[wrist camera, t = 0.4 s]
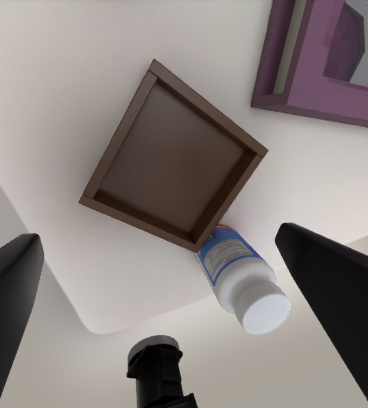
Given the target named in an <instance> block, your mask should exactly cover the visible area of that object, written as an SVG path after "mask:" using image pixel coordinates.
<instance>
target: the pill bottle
mask: <svg viewBox="0 0 368 408" xmlns="http://www.w3.org/2000/svg"><path fill="white" fill-rule="evenodd" d="M195 254H196V258H197V260H198V262H199V264H200V266H201V268H202V270H203V272H204V274H205V276H206V278H207V280H208V281H209V283H210V285H211V287H212V289H213V291H214V293H215V295H216V297H217V299H218V301H219V303H220V305H221V306H222V307H223V308H224V309H225V310H226V311H228V312H230V313H232V314H235V315H236V317H237V319H238V320H239V322H240V324H241V325H242V327H243V329H244V330H245V331H246V332H247V333H249V334H251V335H262V334H266V333H269V332H271V331H273V330H274V329H276V328H277V327H278V326H280V325H281V324H282V323H283V322H284V321H285V319H286V318H287V316H288V314H289V312H290V308H291V305H290V301H289V299H288V297H287V296H286V295H285V294H284V293H283V292H282V290H281V289H280V288H279V287H278V286H277V285H276V276H275V273H274V271H273V269H272V268H271V267H270V266H269V265H268V264H267V263H266V261H265V260H264V259H263V258H262V257H261V256H260V255H259V254H258V253H257V252H256V251H255V250H254V249H253V248H252V247H251V246H250V245H249V244H248V243H247V242H246V241H245V240H244V239H243V238H242V237H241V236H240V235H239V234H238V233H237V232H236V231H235V230H234V229H232V228H230V227H227V226H216V227H215V228H214V230H213V231H212V232H211V234H210V235H209V237H208V238H207V240H206V241H205V243H204V244H203V245H202V247H201V248H200V250H199V251H198V253H195Z"/></svg>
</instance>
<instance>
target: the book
mask: <svg viewBox="0 0 368 408" xmlns="http://www.w3.org/2000/svg"><path fill="white" fill-rule="evenodd" d="M251 107H253V108H259V109H265V110H271V111H277V112H282V113H288V114H294V115H300V116H305V117H311V118H317V119H323V120H329V121H334V122H340V123H346V124H352V125H357V126H363V127H368V0H274V2H273V7H272V11H271V16H270V20H269V25H268V30H267V34H266V39H265V43H264V48H263V53H262V57H261V62H260V66H259V71H258V75H257V80H256V85H255V89H254V94H253V98H252V103H251Z"/></svg>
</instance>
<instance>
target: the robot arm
mask: <svg viewBox="0 0 368 408" xmlns="http://www.w3.org/2000/svg"><path fill="white" fill-rule="evenodd" d="M275 243H276V246H277V248H278V250H279V252H280V254H281V256H282V258H283V260H284V262H285V264H286V266H287V268H288V270H289V272H290V274H291V276H292V277H293V279H294V280H295V282H296V284H297V286H298V287H299V289H300V291H301V292H302V294H303V295H304V297H305V299H306V300H307V302H308V304H309V305H310V307H311V309H312V310H313V312H314V313H315V315H316V317H317V318H318V320H319V322H320V323H321V325H322V327H323V328H324V330H325V331H326V333H327V335H328V336H329V338H330V340H331V341H332V343H333V345H334V346H335V348H336V349H337V351H338V353H339V354H340V356H341V358H342V359H343V361H344V362H345V364H346V366H347V367H348V369H349V371H350V372H351V374H352V375H353V377H354V379H355V381H356V382H357V384H358V386H359V387H360V389H361V390H362V392H363V393H364V395H365V397H367V398H366V399H367V401H368V256H367V255H365V254H363V253H360V252H358V251H355V250H353V249H351V248H349V247H347V246H344V245H342V244H340V243H338V242H335V241H333V240H331V239H328V238H326V237H324V236H322V235H319V234H317V233H315V232H312V231H310V230H308V229H306V228H303V227H301V226H299V225H296V224H294V223H283V224H282V225H281V226H280V228H279V230H278V233H277V235H276V237H275ZM43 262H44V251H43V247H42V243H41V239H40V236H39V235H38V234H36V233H32V234H22V235H20V236H19V237H17V238H15V239H14V240H12V241H11V242H9V243H7V244H6V245H5V246H3V247H1V248H0V397H1V395H2V392H3V389H4V386H5V383H6V381H7V378H8V375H9V372H10V369H11V367H12V364H13V361H14V359H15V356H16V353H17V350H18V347H19V345H20V342H21V339H22V336H23V333H24V331H25V328H26V325H27V322H28V320H29V317H30V314H31V311H32V308H33V305H34V301H35V297H36V292H37V288H38V284H39V280H40V275H41V271H42V267H43ZM182 356H183V352H182V351H179V350H174V349H169V348H163V347H158V346H153V345H147V346H145V348H144V349H143V351H142V352H141V353H140V355H139V356H138V358H137V359H136V360H135V362H134V363H133V365H132V366H131V367H130V369H129V370H128V372H127V374H126V376H127V378H133V379H136V393H137V408H198V407H197V404H196V401H195V398H194V394H193V393H191V394H189V395H187V396H184V395H183V390H182V386H181V375H180V371H179V366H178V362H179V360H180V359H181V358H182Z"/></svg>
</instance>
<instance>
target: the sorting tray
mask: <svg viewBox="0 0 368 408" xmlns="http://www.w3.org/2000/svg"><path fill="white" fill-rule="evenodd" d="M267 152H268V149H266V148H265V147H264V146H263V145H261V144H260V143H259V142H258V141H256V140H255V139H254V138H253V137H251V136H250V135H249V134H248V133H246V132H245V131H244V130H243V129H242V128H240V127H239V126H238V125H237V124H235V123H234V122H233V121H232V120H230V119H229V118H228V117H227V116H225V115H224V114H223V113H222V112H220V111H219V110H218V109H217V108H215V107H214V106H213V105H212V104H210V103H209V102H208V101H207V100H205V99H204V98H203V97H202V96H200V95H199V94H198V93H197V92H195V91H194V90H193V89H192V88H190V87H189V86H188V85H187V84H185V83H184V82H183V81H182V80H180V79H179V78H178V77H177V76H176V75H174V74H173V73H172V72H171V71H169V70H168V69H167V68H166V67H164V66H163V65H162V64H161V63H159V62H158V61H157V60H156V59H153V61H152V63H151V65H150V67H149V69H148V70H147V72H146V74H145V76H144V78H143V80H142V82H141V84H140V86H139V88H138V90H137V91H136V93H135V95H134V97H133V99H132V101H131V103H130V105H129V107H128V109H127V111H126V112H125V114H124V116H123V118H122V120H121V122H120V124H119V126H118V128H117V130H116V132H115V133H114V135H113V137H112V139H111V141H110V143H109V145H108V147H107V149H106V151H105V153H104V155H103V156H102V158H101V160H100V162H99V164H98V166H97V168H96V170H95V172H94V174H93V176H92V177H91V179H90V181H89V183H88V185H87V187H86V189H85V191H84V193H83V195H82V197H81V198H80V200H79V203H80V204H82V205H84V206H87V207H89V208H92V209H94V210H96V211H99V212H101V213H103V214H106V215H108V216H110V217H113V218H115V219H117V220H120V221H122V222H125V223H127V224H129V225H132V226H134V227H136V228H139V229H141V230H143V231H146V232H148V233H150V234H153V235H155V236H158V237H160V238H162V239H165V240H167V241H169V242H172V243H174V244H176V245H179V246H181V247H184V248H186V249H188V250H191V251H193V252H195V253H198V251H199V250H200V248H201V247H202V245H203V244H204V243H205V241H206V240H207V238H208V237H209V235H210V234H211V232H212V231H213V230H214V228H215V227H216V225H217V224H218V222H219V221H220V220H221V218H222V217H223V215H224V214H225V212H226V211H227V209H228V208H229V207H230V205H231V204H232V202H233V201H234V199H235V198H236V197H237V195H238V194H239V192H240V191H241V189H242V188H243V186H244V185H245V184H246V182H247V181H248V179H249V178H250V176H251V175H252V174H253V172H254V171H255V169H256V168H257V166H258V165H259V163H260V162H261V161H262V159H263V158H264V156H265V155H266V154H267Z"/></svg>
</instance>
